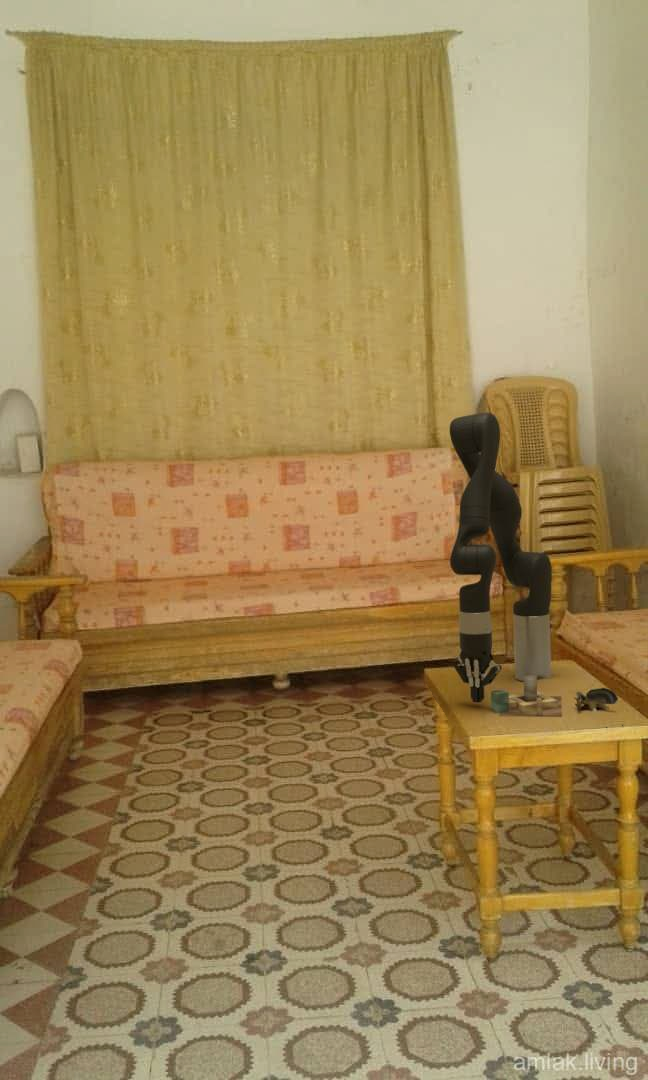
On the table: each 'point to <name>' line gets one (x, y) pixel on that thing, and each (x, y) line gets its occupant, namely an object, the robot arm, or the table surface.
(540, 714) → the dowel pin
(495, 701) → the square frame with handle
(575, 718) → the table surface
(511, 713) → the post board
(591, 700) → the brown squirrel figurine
